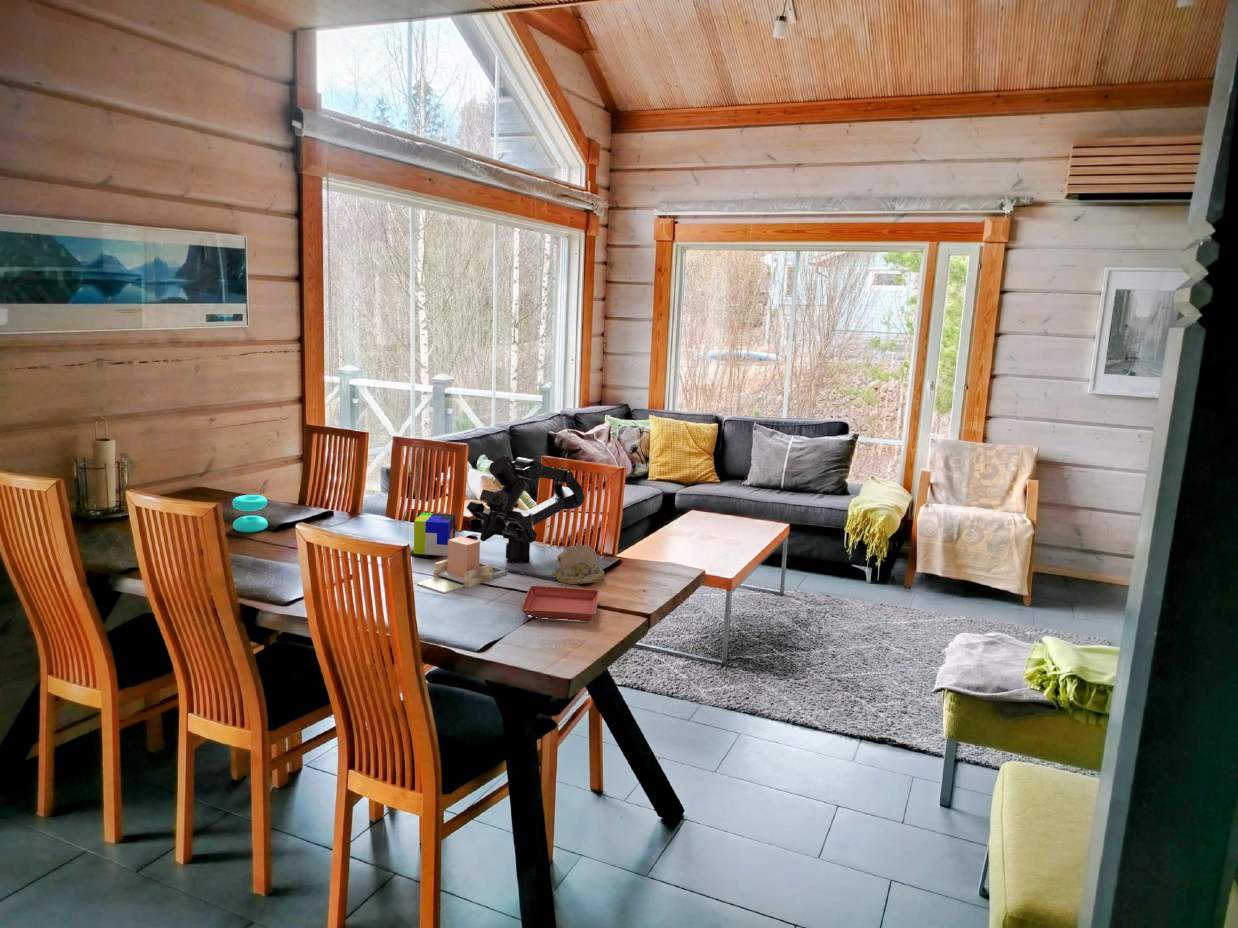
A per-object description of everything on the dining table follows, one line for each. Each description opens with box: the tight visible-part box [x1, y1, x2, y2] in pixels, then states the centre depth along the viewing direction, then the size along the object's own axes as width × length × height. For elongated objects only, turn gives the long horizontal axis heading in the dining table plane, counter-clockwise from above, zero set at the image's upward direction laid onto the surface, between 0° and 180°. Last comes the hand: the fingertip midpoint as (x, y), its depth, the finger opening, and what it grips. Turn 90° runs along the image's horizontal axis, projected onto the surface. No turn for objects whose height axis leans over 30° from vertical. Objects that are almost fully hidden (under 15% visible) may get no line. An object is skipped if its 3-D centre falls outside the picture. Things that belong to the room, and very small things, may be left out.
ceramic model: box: [551, 542, 605, 585], centre depth 243 cm, size 14×11×10 cm
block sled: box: [439, 535, 481, 584], centre depth 236 cm, size 9×9×10 cm
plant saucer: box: [520, 585, 600, 622], centre depth 218 cm, size 18×18×3 cm
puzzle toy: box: [413, 512, 456, 557], centre depth 260 cm, size 10×10×10 cm
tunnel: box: [433, 558, 494, 589], centre depth 236 cm, size 10×12×4 cm
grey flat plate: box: [479, 561, 508, 580], centre depth 243 cm, size 6×12×1 cm, turn 56°
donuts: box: [231, 494, 269, 533], centre depth 270 cm, size 10×10×10 cm
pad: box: [416, 577, 465, 594], centre depth 230 cm, size 7×10×1 cm
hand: (481, 540), depth 241 cm, fingers closed
